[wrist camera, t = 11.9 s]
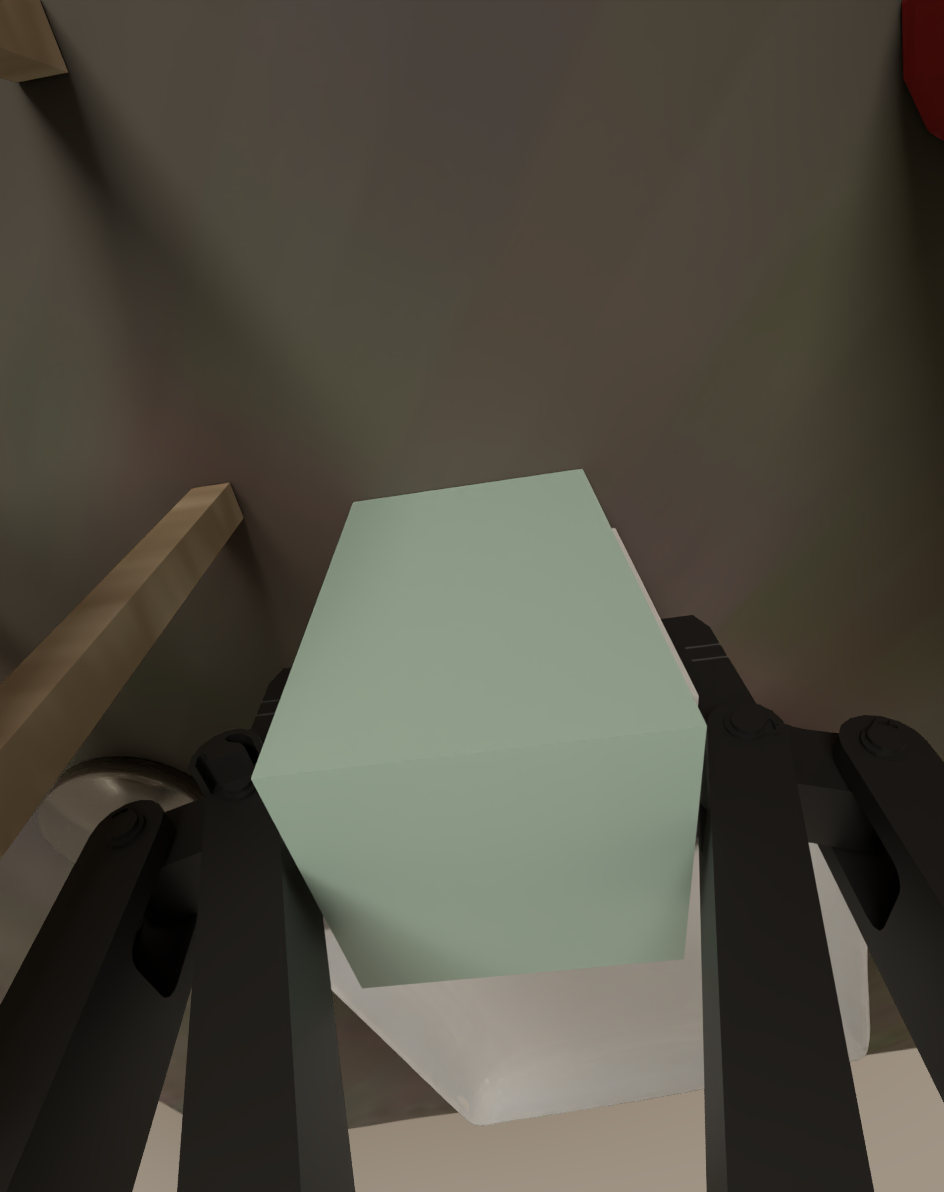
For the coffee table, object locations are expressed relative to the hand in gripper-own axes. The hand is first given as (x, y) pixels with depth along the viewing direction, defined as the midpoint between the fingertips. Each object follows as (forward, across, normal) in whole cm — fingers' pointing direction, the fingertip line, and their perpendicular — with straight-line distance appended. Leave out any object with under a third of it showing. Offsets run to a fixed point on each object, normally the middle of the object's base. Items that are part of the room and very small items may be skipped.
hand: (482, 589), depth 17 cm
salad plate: (+1, +3, -21) cm, 21 cm away
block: (0, 0, 0) cm, 0 cm away
